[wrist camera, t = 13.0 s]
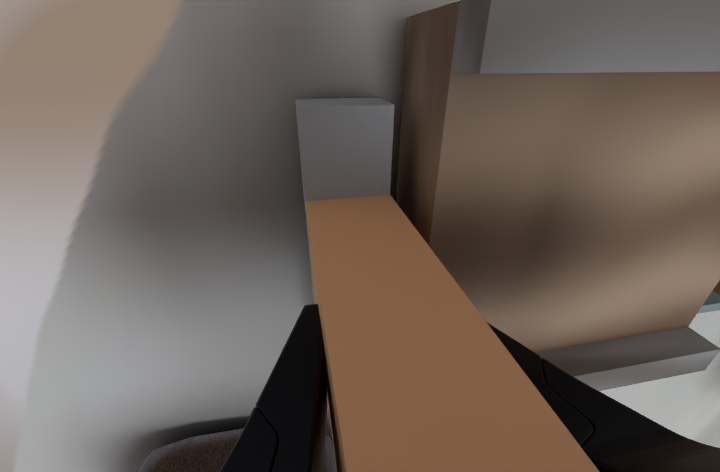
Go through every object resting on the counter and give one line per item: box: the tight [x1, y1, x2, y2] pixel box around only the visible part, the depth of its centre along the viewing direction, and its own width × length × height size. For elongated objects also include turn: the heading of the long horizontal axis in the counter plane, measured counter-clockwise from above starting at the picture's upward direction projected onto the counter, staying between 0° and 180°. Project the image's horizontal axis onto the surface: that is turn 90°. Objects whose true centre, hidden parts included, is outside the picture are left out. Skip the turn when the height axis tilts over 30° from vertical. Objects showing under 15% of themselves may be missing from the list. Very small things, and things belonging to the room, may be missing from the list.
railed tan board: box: [396, 0, 720, 391], centre depth 14 cm, size 15×15×6 cm
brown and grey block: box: [295, 97, 599, 472], centre depth 9 cm, size 10×3×12 cm, turn 179°
